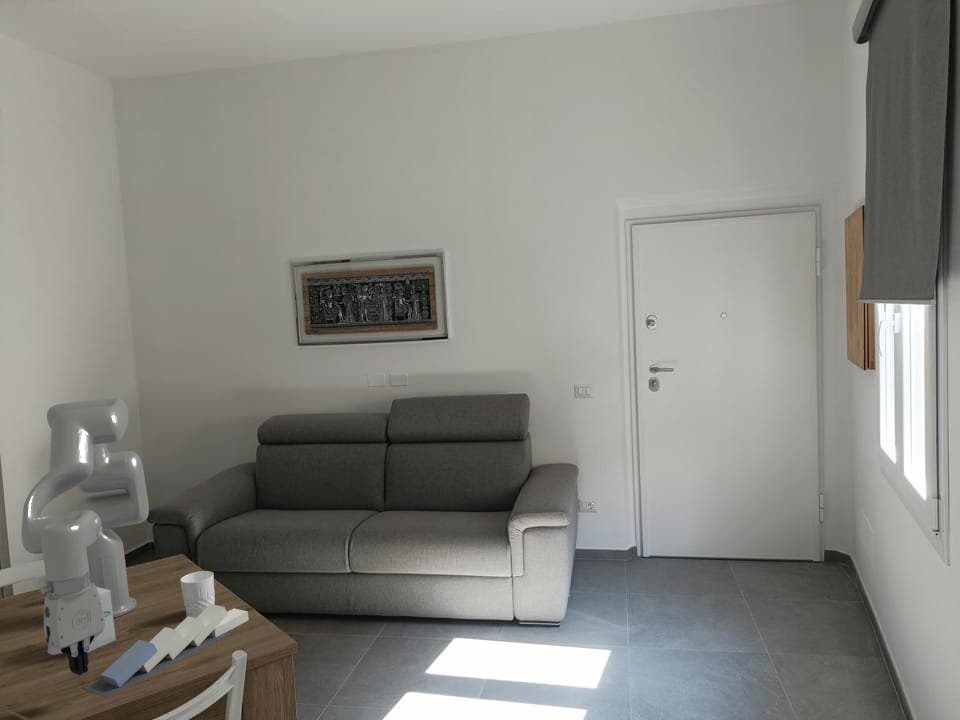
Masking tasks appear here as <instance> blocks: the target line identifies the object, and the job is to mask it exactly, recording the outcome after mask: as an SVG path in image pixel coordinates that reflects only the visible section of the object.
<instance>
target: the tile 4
mask: <svg viewBox="0 0 960 720" xmlns="http://www.w3.org/2000/svg"><path fill="white" fill-rule="evenodd" d="M227 612H228V610H227V609H226V607H225V606H221V605H217V604H215V605H213V604H210V605H209V606H208V607H207V608H206V609H205V610H204V611H203V612H202V613H201V614H200V615H199V616H198V617H197V619H202V620H203V622H204V624H205V626H206V627H205V628H204V629H203V630H202V631H201V632H200V633H199V634H198V635H197V636H196V637H195V638H194V639H193V640H192V641H191V642H190V643H189V644H190V645H194V646H197V647H198V646H199V645H200V644H201V643H202V642H203V641H204V640H205V638H206V637H207V636H208V635H209V634H210V633H211V632H212V631H213V630H214V629H215V627H216V626H217V625H218V624H219V623H220V622H221V621H222V620H223V619H224V618H225V617H226V615H227V614H228V613H227Z"/></svg>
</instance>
